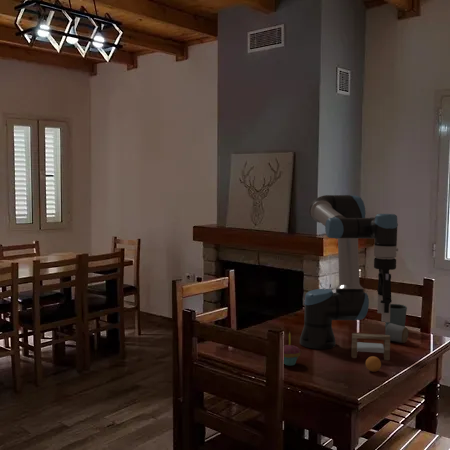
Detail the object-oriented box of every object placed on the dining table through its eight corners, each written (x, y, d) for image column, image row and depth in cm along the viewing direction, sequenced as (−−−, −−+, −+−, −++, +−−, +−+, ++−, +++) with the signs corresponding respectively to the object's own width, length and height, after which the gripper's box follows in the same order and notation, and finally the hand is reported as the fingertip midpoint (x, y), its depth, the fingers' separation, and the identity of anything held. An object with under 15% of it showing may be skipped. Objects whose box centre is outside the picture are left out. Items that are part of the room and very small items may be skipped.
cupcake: (277, 359, 211) (278, 329, 211) (299, 360, 211) (300, 330, 210) (279, 367, 203) (279, 335, 202) (301, 367, 203) (302, 336, 202)
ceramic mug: (403, 345, 233) (403, 327, 233) (384, 341, 238) (385, 324, 237) (411, 340, 241) (411, 323, 241) (393, 337, 246) (393, 320, 246)
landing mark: (352, 351, 224) (352, 350, 224) (351, 342, 237) (351, 341, 237) (385, 353, 221) (385, 352, 221) (382, 344, 234) (382, 343, 234)
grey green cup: (410, 332, 254) (411, 307, 253) (396, 335, 249) (396, 309, 248) (393, 327, 263) (393, 302, 262) (378, 330, 257) (379, 305, 256)
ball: (365, 373, 197) (366, 358, 197) (364, 368, 203) (365, 353, 202) (381, 374, 196) (382, 359, 196) (380, 369, 202) (380, 354, 201)
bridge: (389, 360, 212) (390, 337, 212) (351, 357, 215) (352, 334, 215) (388, 357, 215) (389, 335, 215) (351, 355, 218) (351, 332, 217)
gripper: (401, 262, 178) (399, 326, 179) (391, 254, 202) (389, 310, 204) (377, 261, 179) (376, 325, 181) (370, 253, 204) (369, 309, 205)
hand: (383, 317), depth 192 cm, fingers open, 13 cm apart
